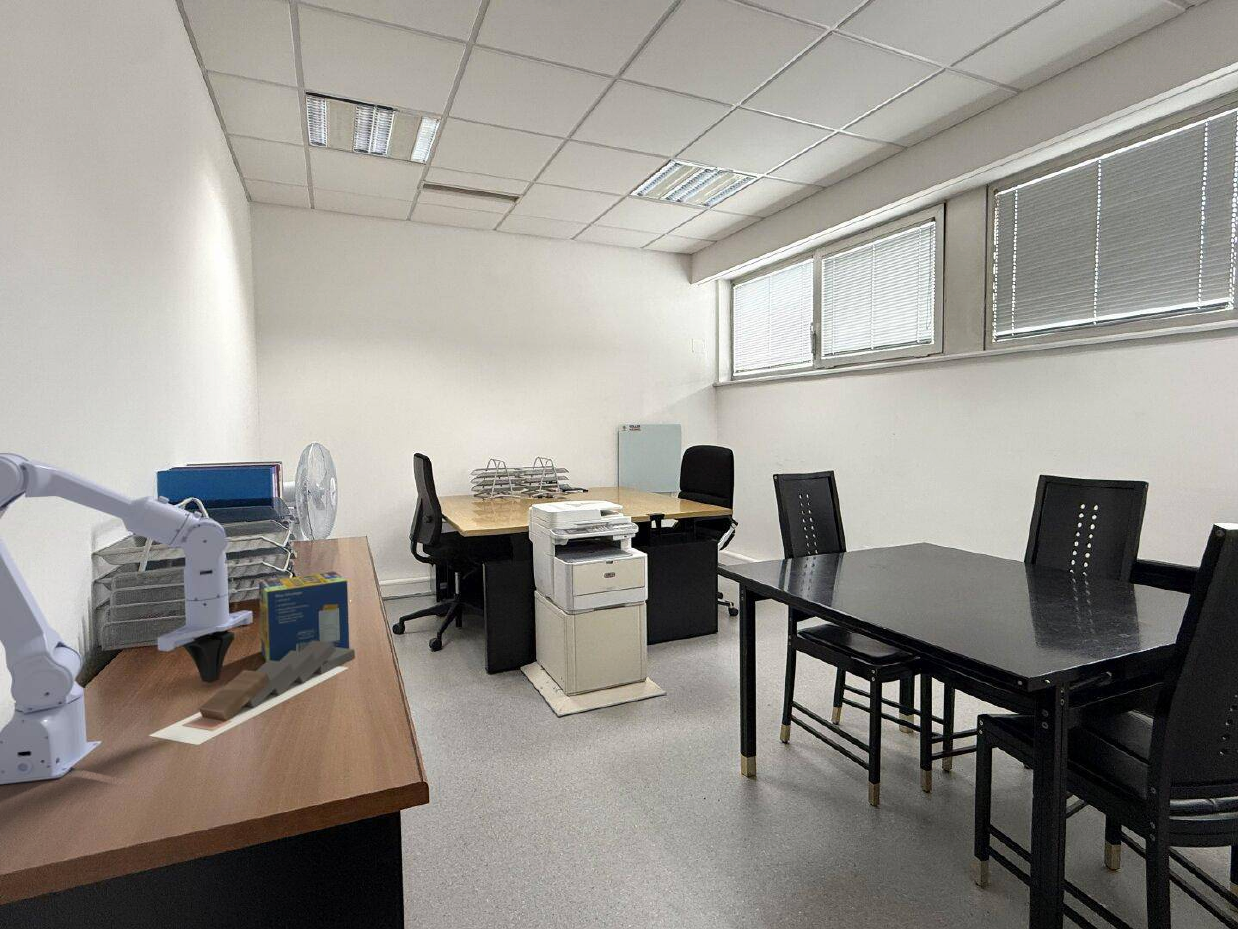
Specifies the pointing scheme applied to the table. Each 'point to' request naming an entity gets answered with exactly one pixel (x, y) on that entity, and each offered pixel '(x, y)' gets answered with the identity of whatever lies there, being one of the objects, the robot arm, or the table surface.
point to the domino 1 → (234, 695)
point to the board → (206, 728)
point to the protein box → (303, 613)
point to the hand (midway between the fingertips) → (210, 680)
